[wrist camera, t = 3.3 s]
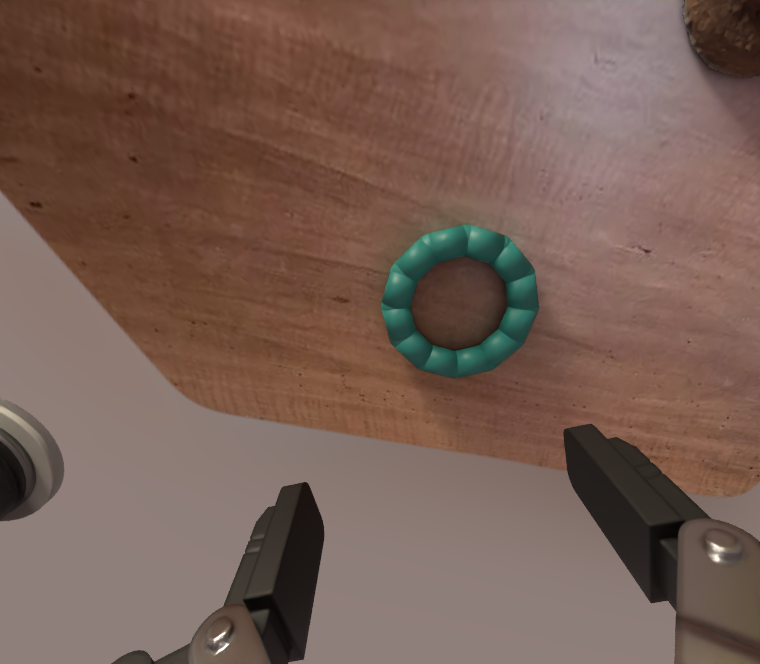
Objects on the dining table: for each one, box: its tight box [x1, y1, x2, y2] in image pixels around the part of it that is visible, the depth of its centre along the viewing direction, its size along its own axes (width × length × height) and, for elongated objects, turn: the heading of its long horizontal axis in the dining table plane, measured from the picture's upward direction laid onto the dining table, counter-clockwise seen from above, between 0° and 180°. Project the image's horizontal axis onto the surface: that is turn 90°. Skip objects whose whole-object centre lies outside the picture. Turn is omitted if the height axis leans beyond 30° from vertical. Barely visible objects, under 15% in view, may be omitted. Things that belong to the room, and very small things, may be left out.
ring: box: [381, 224, 539, 378], centre depth 23 cm, size 10×10×2 cm
